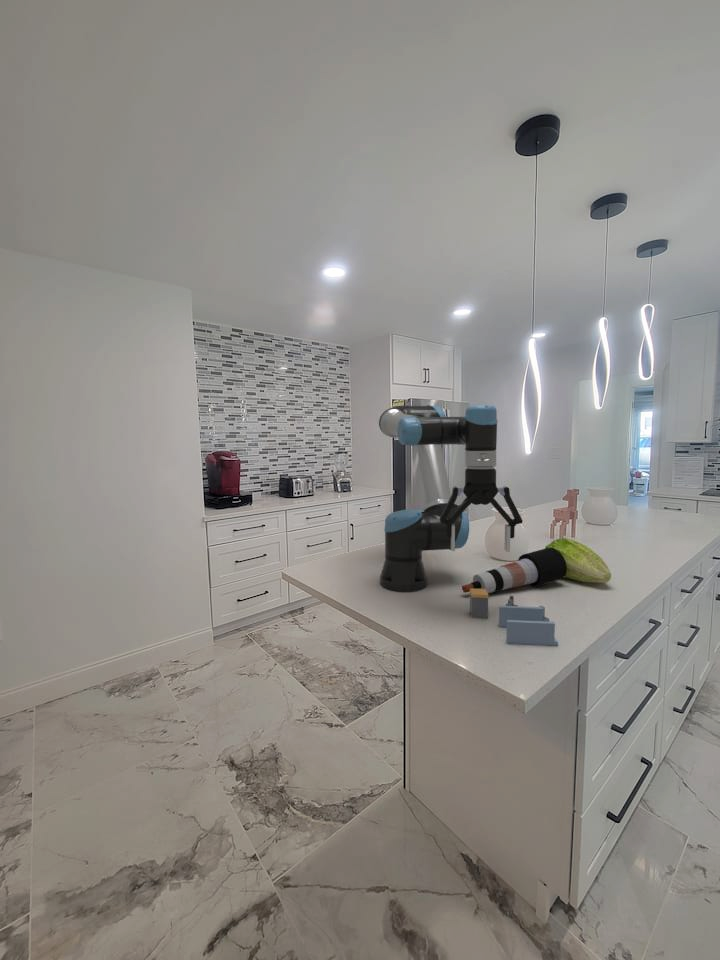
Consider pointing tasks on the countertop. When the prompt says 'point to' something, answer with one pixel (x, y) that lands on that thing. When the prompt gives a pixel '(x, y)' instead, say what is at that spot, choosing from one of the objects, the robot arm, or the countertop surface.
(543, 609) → the clip
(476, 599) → the block
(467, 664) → the countertop surface
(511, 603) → the clip
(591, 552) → the lettuce
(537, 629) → the holder
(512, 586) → the cable
